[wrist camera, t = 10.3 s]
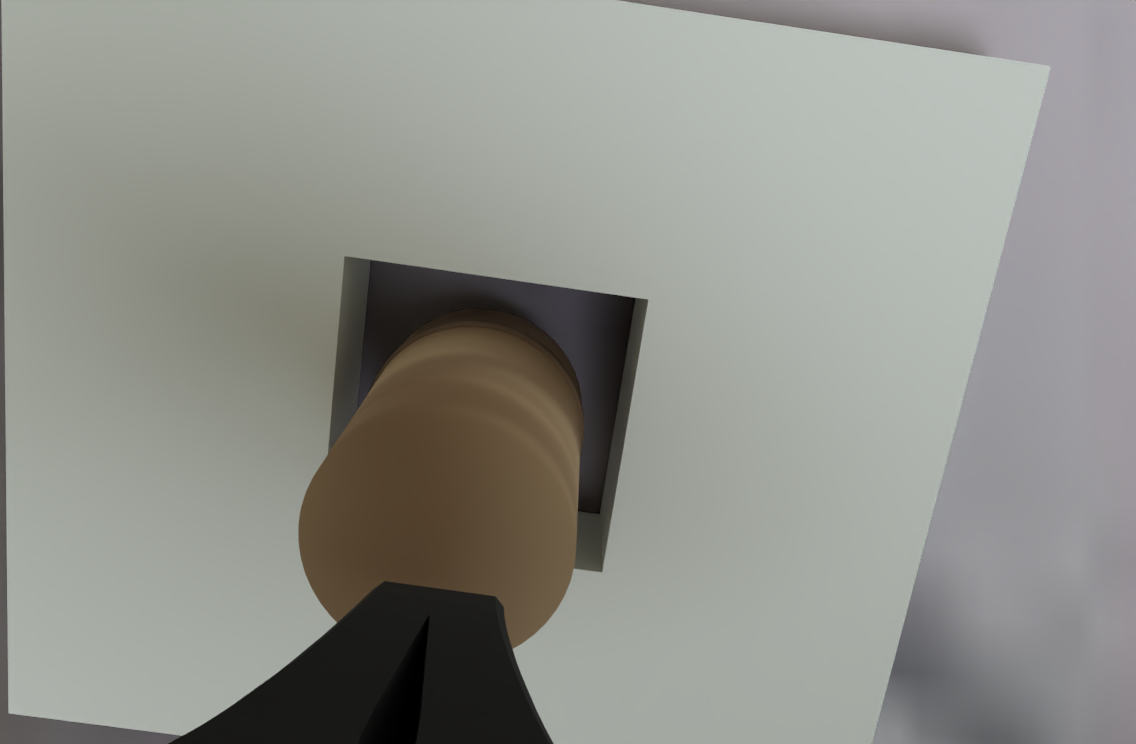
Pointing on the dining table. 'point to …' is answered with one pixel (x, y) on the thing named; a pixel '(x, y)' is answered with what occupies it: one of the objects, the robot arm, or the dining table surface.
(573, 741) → the sage board
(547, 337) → the oak peg
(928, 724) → the dining table surface
